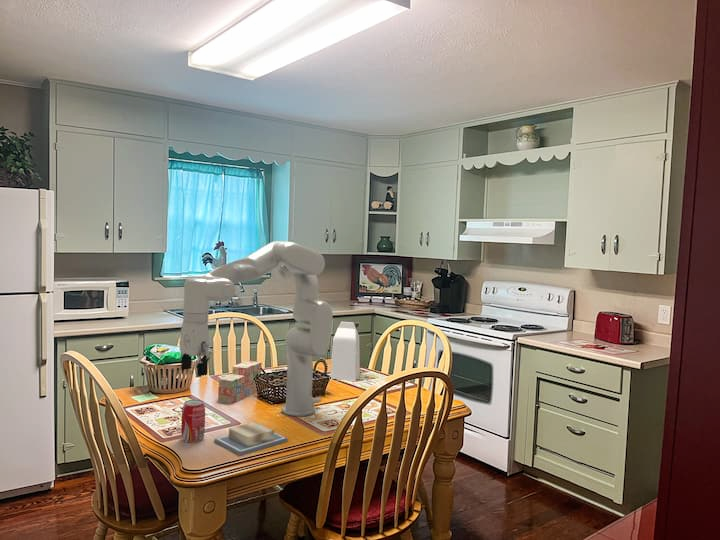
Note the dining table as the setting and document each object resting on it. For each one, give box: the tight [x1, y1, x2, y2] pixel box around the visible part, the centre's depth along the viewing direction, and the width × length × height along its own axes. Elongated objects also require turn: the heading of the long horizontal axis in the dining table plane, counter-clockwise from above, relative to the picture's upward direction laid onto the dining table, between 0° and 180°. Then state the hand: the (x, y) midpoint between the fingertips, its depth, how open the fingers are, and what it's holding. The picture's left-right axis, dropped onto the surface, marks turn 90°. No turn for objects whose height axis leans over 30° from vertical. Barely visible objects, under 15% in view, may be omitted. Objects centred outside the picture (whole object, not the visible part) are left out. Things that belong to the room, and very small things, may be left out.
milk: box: [329, 321, 361, 381], centre depth 260 cm, size 12×12×26 cm
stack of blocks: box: [217, 360, 263, 405], centre depth 225 cm, size 21×6×12 cm, turn 159°
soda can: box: [180, 399, 206, 443], centre depth 177 cm, size 7×7×12 cm
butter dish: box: [213, 421, 289, 456], centre depth 177 cm, size 18×14×4 cm
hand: (194, 372), depth 176 cm, fingers open, 9 cm apart
